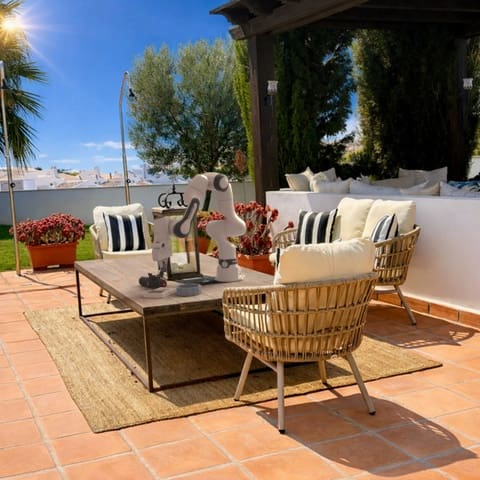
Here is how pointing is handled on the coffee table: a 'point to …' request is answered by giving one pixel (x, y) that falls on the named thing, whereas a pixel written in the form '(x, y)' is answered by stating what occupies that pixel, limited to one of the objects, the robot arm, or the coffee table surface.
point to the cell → (164, 266)
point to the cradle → (159, 292)
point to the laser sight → (153, 281)
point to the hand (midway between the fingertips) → (163, 266)
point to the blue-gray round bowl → (188, 289)
